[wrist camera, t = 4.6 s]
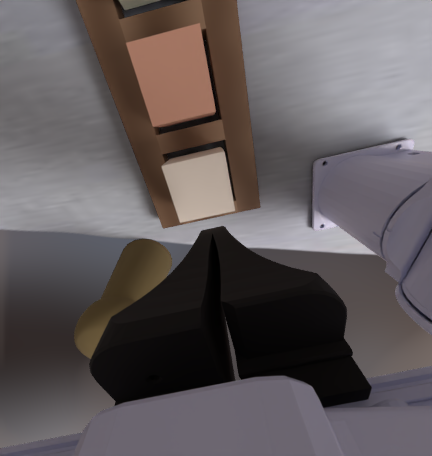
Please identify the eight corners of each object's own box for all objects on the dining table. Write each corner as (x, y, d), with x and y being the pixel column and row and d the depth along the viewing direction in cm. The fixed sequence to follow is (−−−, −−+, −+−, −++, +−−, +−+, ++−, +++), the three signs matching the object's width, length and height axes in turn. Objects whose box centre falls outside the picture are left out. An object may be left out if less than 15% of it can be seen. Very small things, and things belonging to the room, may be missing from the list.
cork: (113, 266, 24) (46, 359, 14) (134, 229, 22) (73, 308, 12) (158, 286, 26) (125, 383, 16) (181, 254, 24) (161, 342, 14)
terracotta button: (201, 48, 15) (199, 22, 11) (213, 115, 17) (215, 111, 13) (144, 63, 15) (125, 42, 11) (163, 127, 17) (152, 126, 14)
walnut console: (210, -159, 11) (211, -215, 9) (255, 200, 21) (260, 207, 19) (47, -107, 12) (18, -150, 10) (166, 220, 21) (163, 228, 20)
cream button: (220, 146, 17) (224, 151, 13) (229, 195, 19) (235, 210, 15) (170, 158, 17) (161, 166, 14) (184, 205, 19) (180, 222, 16)
